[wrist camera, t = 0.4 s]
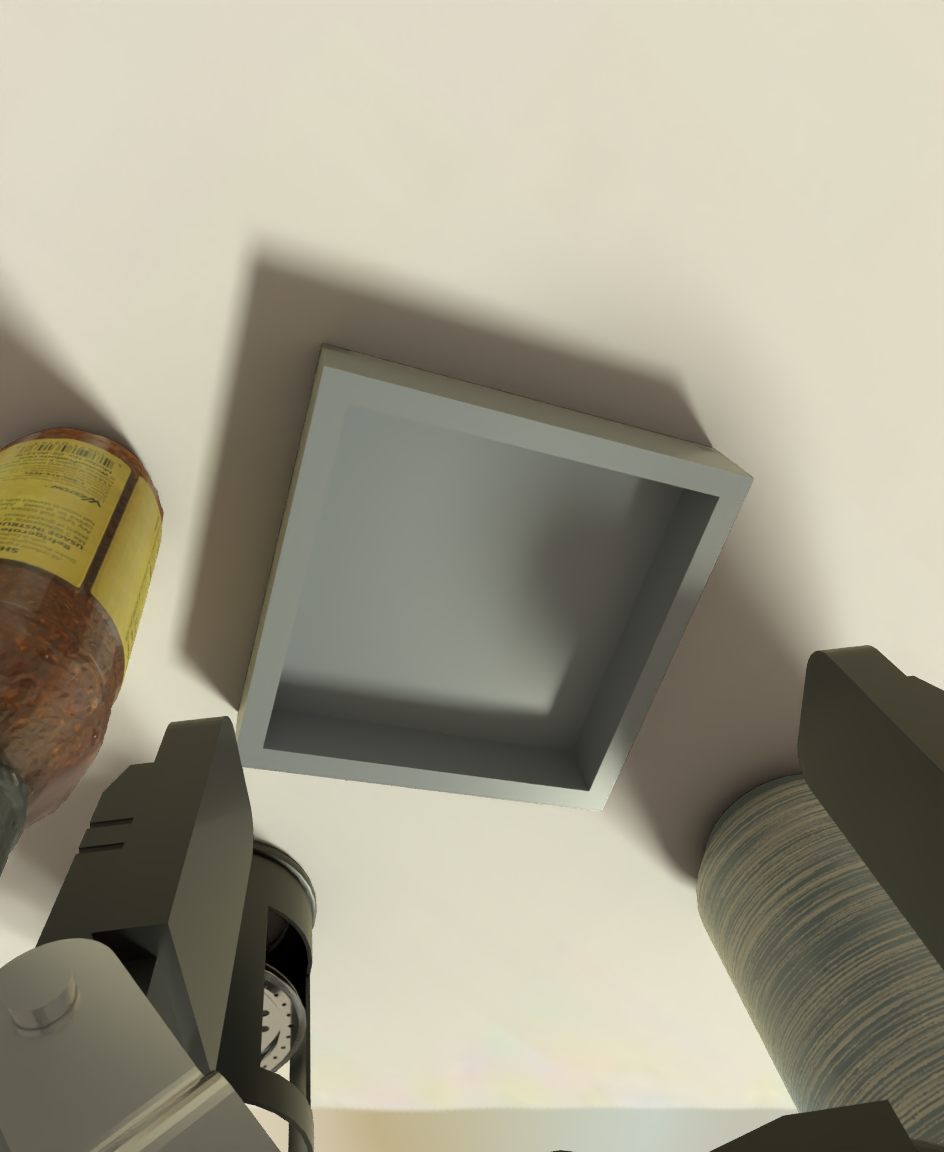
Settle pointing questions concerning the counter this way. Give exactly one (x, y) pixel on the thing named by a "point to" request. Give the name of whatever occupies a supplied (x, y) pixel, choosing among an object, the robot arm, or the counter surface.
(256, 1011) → the french press
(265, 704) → the tray
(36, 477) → the sauce bottle
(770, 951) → the vase
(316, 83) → the counter surface
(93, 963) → the robot arm
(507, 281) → the counter surface
